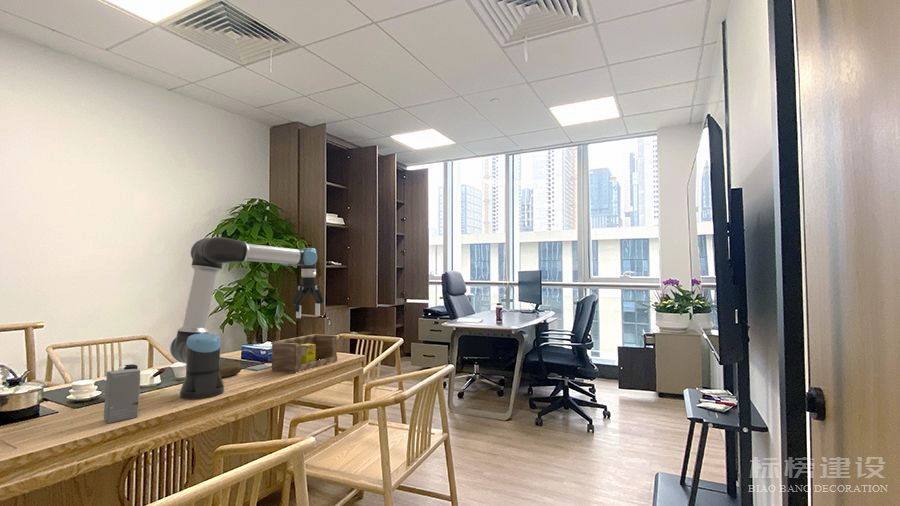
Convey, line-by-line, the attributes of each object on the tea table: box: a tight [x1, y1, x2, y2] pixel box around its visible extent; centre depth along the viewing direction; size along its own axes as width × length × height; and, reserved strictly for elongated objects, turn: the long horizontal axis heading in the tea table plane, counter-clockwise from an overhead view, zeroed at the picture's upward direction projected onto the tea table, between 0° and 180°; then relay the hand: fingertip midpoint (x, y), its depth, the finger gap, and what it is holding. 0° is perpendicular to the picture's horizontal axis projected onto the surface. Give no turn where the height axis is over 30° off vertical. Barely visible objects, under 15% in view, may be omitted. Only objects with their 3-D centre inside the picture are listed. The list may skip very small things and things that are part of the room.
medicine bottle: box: [117, 363, 141, 396], centre depth 162 cm, size 7×7×12 cm
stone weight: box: [219, 361, 242, 379], centre depth 192 cm, size 15×7×7 cm, turn 157°
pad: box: [245, 364, 272, 372], centre depth 210 cm, size 9×9×1 cm
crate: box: [270, 333, 339, 374], centre depth 216 cm, size 31×16×14 cm, turn 155°
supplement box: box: [301, 343, 316, 365], centre depth 217 cm, size 6×6×11 cm
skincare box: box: [103, 368, 141, 424], centre depth 137 cm, size 8×7×16 cm
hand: (308, 316), depth 218 cm, fingers open, 13 cm apart
